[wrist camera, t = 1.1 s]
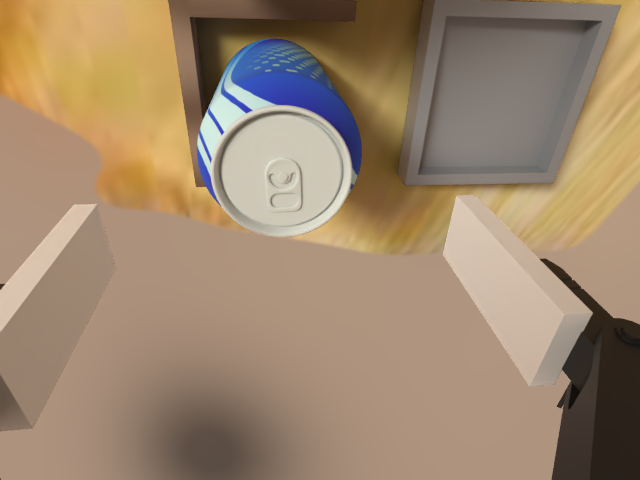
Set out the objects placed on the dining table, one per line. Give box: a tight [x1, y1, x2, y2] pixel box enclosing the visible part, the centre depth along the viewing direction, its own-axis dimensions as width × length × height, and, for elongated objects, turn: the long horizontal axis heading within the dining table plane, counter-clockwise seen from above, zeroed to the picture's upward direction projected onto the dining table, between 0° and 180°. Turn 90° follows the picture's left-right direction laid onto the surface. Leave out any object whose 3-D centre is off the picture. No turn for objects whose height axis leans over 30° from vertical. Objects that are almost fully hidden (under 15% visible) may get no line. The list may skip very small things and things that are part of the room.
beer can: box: [197, 39, 362, 237], centre depth 25 cm, size 8×8×16 cm
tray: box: [397, 0, 621, 186], centre depth 33 cm, size 14×14×2 cm
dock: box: [168, 0, 356, 187], centre depth 31 cm, size 13×12×2 cm
